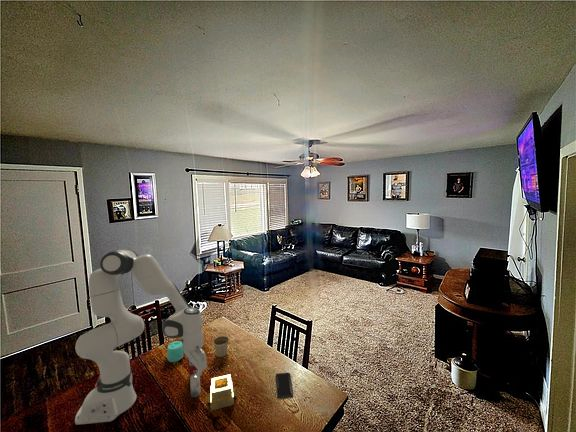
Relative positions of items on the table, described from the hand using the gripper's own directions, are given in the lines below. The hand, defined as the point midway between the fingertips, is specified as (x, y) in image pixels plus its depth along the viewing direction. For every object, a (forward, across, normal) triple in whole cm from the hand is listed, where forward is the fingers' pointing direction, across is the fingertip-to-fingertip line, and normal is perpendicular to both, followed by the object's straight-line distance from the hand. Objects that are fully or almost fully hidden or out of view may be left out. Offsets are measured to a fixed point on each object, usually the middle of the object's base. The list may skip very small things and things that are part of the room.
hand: (195, 369), depth 119 cm
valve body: (+13, -11, -7) cm, 18 cm away
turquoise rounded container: (+12, +35, -1) cm, 37 cm away
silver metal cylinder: (+12, +1, 0) cm, 12 cm away
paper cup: (+12, +13, -4) cm, 18 cm away
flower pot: (+12, +20, -23) cm, 32 cm away
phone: (+14, -24, -34) cm, 44 cm away
